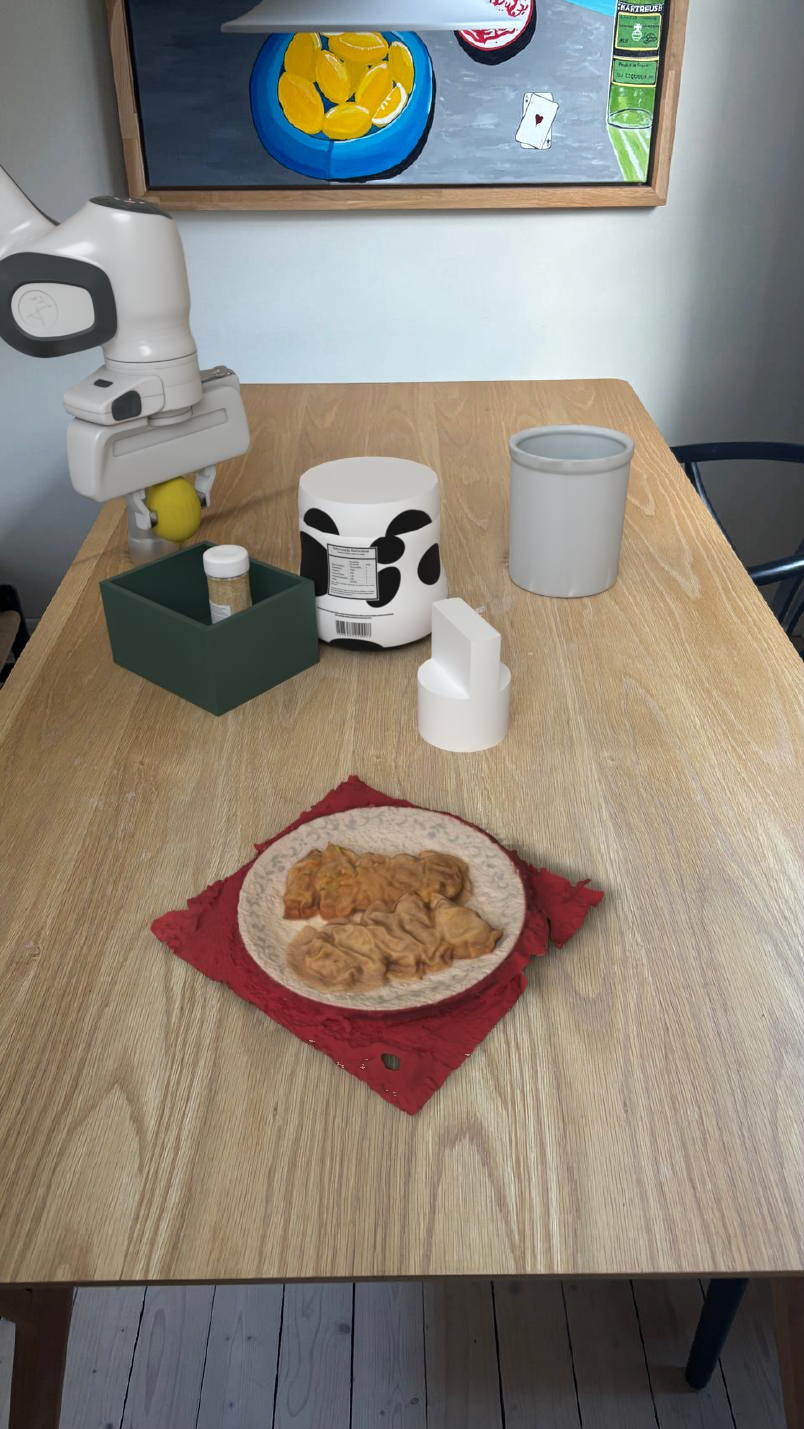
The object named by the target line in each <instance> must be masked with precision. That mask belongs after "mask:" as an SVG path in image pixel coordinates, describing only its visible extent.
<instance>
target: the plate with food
mask: <svg viewBox="0 0 804 1429" xmlns="http://www.w3.org/2000/svg"><path fill="white" fill-rule="evenodd" d="M253 847H254V849H255V850H256V851H257V853H256V854H255V857H254V858H252V859H251V860H250V861H249V862H247V863H246V864H243V865H242V866H241V867H240V868H239V869H238V870H236V871H235V872H234V873H232V874H231V875H229V876H228V875H227V876H226V877H224V878H223V879H217V880H216V881H215V880H214V882H213V883H212V884H211V885H210V884H207V885H206V888H205V889H204V890H202V891H201V892H200V893H199V894H197V895H196V896H194V897H191V898H187V899H186V903H187V904H186V905H187V909H177V910H175V909H172V910H169V911H167V912H166V913H164V914H163V915H162V916H161V917H158V918H155V919H154V920H152V923H151V924H150V932H151V933H152V934H153V935H154V936H155V938H156V939H157V940H158V941H159V942H160V943H166V945H167V948H168V949H172V950H173V951H172V954H173V955H175V956H176V957H177V958H179V959H181V960H182V961H184V962H186V963H187V964H189V965H190V966H192V967H193V968H194V969H196V970H197V971H198V972H199V973H201V974H203V975H204V976H205V977H207V978H208V979H211V981H213V982H217V983H222V984H225V986H227V987H228V989H229V990H230V991H232V993H234V994H235V995H236V996H238V997H240V998H241V999H242V1000H243V1001H246V1002H247V1003H249V1004H250V1003H252V1004H253V1005H254V1006H255V1007H256V1008H257V1009H258V1010H260V1011H262V1012H263V1014H265V1015H266V1016H268V1017H269V1018H270V1019H272V1020H273V1021H274V1022H275V1023H277V1024H279V1025H281V1026H282V1027H284V1028H285V1029H287V1030H288V1031H289V1032H290V1033H291V1034H293V1035H294V1036H295V1037H296V1038H297V1039H299V1040H300V1041H301V1042H303V1043H304V1044H307V1045H308V1046H312V1047H313V1048H314V1049H315V1050H316V1051H320V1052H321V1053H323V1054H324V1055H326V1056H327V1057H328V1058H330V1059H331V1060H332V1062H333V1063H334V1064H335V1065H336V1066H337V1067H339V1068H340V1069H342V1070H345V1071H346V1072H347V1073H349V1075H351V1076H354V1077H356V1078H357V1080H359V1081H360V1082H362V1081H363V1082H365V1083H366V1085H367V1086H368V1087H369V1089H370V1090H371V1091H373V1092H376V1093H377V1094H378V1095H379V1096H380V1097H381V1098H382V1099H383V1100H384V1101H386V1102H388V1104H391V1105H393V1106H394V1107H395V1108H397V1109H398V1110H400V1111H401V1112H405V1113H406V1114H407V1115H408V1116H410V1117H414V1116H415V1115H416V1114H417V1113H418V1111H419V1110H423V1107H424V1106H425V1104H426V1103H427V1102H428V1100H429V1099H431V1098H432V1097H433V1095H434V1093H435V1092H437V1091H438V1090H439V1089H441V1088H442V1087H443V1084H444V1082H445V1081H446V1079H447V1077H449V1075H450V1074H451V1073H452V1072H453V1071H454V1070H458V1069H459V1068H460V1066H461V1065H462V1064H463V1063H464V1062H465V1061H466V1059H467V1058H468V1057H469V1056H467V1055H465V1054H470V1056H471V1054H472V1053H473V1051H474V1050H475V1049H476V1048H477V1045H480V1043H481V1042H483V1041H484V1040H485V1037H487V1035H488V1034H489V1033H491V1031H492V1029H493V1028H494V1027H495V1026H496V1025H497V1024H498V1023H499V1022H500V1020H501V1019H502V1018H503V1017H505V1016H506V1014H508V1012H509V1010H510V1009H512V1008H513V1006H514V1005H515V1004H516V1003H517V1002H518V1000H519V999H520V997H521V996H522V994H523V993H524V991H525V989H526V987H527V985H528V983H529V982H528V980H529V979H528V978H527V977H525V974H524V971H523V969H524V967H525V966H528V965H529V964H531V962H532V960H531V956H532V955H535V957H539V956H540V958H542V957H544V956H545V954H546V953H547V952H548V951H549V948H548V943H549V935H550V937H551V940H552V942H553V943H554V945H555V946H554V947H556V948H557V949H558V950H561V949H563V945H565V944H567V943H568V941H569V940H570V939H571V938H572V937H573V936H574V934H576V931H577V930H578V929H580V928H581V926H582V925H583V923H584V921H585V919H586V917H587V915H588V913H589V910H590V909H591V906H592V907H593V908H595V907H598V906H599V905H600V904H601V903H600V902H601V901H602V900H603V898H604V895H605V892H604V891H603V890H596V889H595V890H594V889H590V888H588V887H586V885H588V884H590V882H592V879H591V878H586V879H584V880H580V881H577V882H576V886H573V885H572V884H571V881H570V880H568V879H566V878H564V877H561V876H559V875H557V874H554V873H553V872H551V871H549V870H548V869H547V868H546V867H544V866H543V867H540V868H539V869H538V868H537V867H534V865H533V864H532V863H528V861H527V860H524V859H522V858H521V857H520V856H519V855H518V850H517V849H512V850H510V849H508V848H506V847H505V846H504V845H502V844H501V843H500V842H499V840H497V838H496V837H495V836H494V835H492V834H491V833H489V832H487V831H486V830H485V829H483V828H481V827H479V825H476V824H474V823H473V822H471V821H470V822H469V821H467V820H465V819H464V818H462V817H461V816H459V814H457V815H456V814H453V813H451V812H449V811H445V810H443V811H441V810H437V809H430V808H428V807H426V806H425V807H423V806H419V805H417V804H414V803H412V802H410V801H408V800H407V799H404V798H403V799H400V798H394V797H392V796H389V795H387V794H386V793H384V792H382V791H379V790H377V789H375V788H374V787H372V786H370V785H368V784H367V783H366V782H365V781H362V780H361V779H360V777H359V776H358V774H354V775H351V774H349V775H348V777H347V780H346V781H340V783H339V784H338V786H337V787H336V788H335V789H334V788H332V789H330V790H329V791H328V793H327V794H326V795H325V796H324V797H323V798H322V799H321V800H319V801H318V802H316V803H315V804H313V805H310V810H308V811H307V810H302V812H301V813H300V814H299V816H298V818H297V819H295V820H294V821H293V822H292V823H290V824H289V825H288V826H287V827H285V828H284V829H283V830H281V831H280V832H278V833H276V835H275V836H273V837H271V838H268V839H267V840H265V841H263V842H261V843H259V844H258V843H255V842H254V843H253ZM193 893H194V894H195V893H196V892H195V891H194V892H193ZM548 921H549V923H550V929H549V923H548ZM550 930H551V931H550ZM309 1040H313V1041H315V1042H310V1041H309ZM383 1054H384V1055H385V1054H387V1055H388V1054H389V1055H392V1056H394V1057H396V1058H398V1059H399V1060H400V1064H399V1068H398V1069H396V1070H392V1069H390V1068H386V1066H385V1064H384V1061H383V1060H382V1055H383ZM365 1059H368V1060H365ZM337 1062H339V1064H341V1065H344V1066H343V1067H344V1068H342V1066H341V1065H337V1064H338V1063H337ZM362 1064H364V1066H363V1065H362ZM362 1066H363V1067H365V1068H364V1069H362V1068H360V1067H362ZM386 1090H388V1091H386ZM393 1092H396V1093H393ZM394 1095H396V1096H394Z"/></svg>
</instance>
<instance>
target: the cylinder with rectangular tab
mask: <svg viewBox="0 0 804 1429" xmlns="http://www.w3.org/2000/svg"><path fill="white" fill-rule="evenodd" d="M501 646H502V634H501V633H499V631H497V629H495V628H494V627H493V626H492V625H491V624H490V623H489V622H488V621H486V620H485V619H484V617H482V616H481V615H480V614H479V613H478V612H477V611H476V610H474V609H473V608H472V607H471V606H470V605H469V604H468V603H467V602H465V600H463V599H462V598H461V597H451V598H447V599H444V600H440V601H437V602H434V603H432V633H431V658H429V659H427V660H426V661H424V662H423V663H422V664H421V665H420V666H419V668H418V669H417V732H418V733H419V735H420V737H421V738H422V740H424V741H425V742H426V743H427V744H429V745H431V746H433V747H435V748H437V749H439V750H440V749H441V750H443V751H447V752H454V753H476V752H481V751H485V750H489V749H491V748H494V747H495V746H497V745H499V744H500V743H502V742H503V741H504V739H505V738H506V737H507V735H508V732H509V729H510V728H509V727H510V726H509V724H510V710H511V708H510V707H511V691H512V690H511V686H512V673H511V670H510V668H509V667H508V666H507V665H506V664H505V663H503V662H502V661H501Z"/></svg>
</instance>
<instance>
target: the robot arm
mask: <svg viewBox="0 0 804 1429" xmlns="http://www.w3.org/2000/svg"><path fill="white" fill-rule="evenodd" d="M185 254H186V253H185V249H184V244H183V241H182V237H181V233H180V230H179V227H178V225H177V223H176V222H175V219H174V218H173V217H172V216H171V215H170V213H169V212H167V211H166V210H165V209H164V208H163V207H161V206H160V205H158V204H156V203H154V202H151V201H147V200H145V199H140V198H134V197H129V196H123V195H122V196H121V195H98V196H97V195H96V196H95V197H91V198H89V199H88V200H87V201H86V203H85V204H84V205H83V206H82V207H81V208H80V209H79V210H78V211H76V212H75V213H73V215H71V216H70V217H69V218H67V219H65V220H64V221H63V222H59V221H57V220H55V219H54V218H52V217H50V216H49V215H48V214H47V213H46V212H44V211H42V210H41V209H40V208H39V207H38V206H37V205H36V204H35V203H34V202H33V201H32V200H31V199H30V198H29V196H28V195H27V194H26V192H24V190H23V189H22V188H21V187H20V186H19V185H18V183H17V182H16V181H15V180H14V179H13V178H12V176H11V175H10V174H9V173H8V171H7V170H6V169H5V168H4V167H3V165H2V164H1V163H0V338H1V339H2V341H4V342H5V343H6V344H7V345H8V346H10V347H11V348H12V349H14V350H15V351H17V352H19V353H21V354H24V355H26V356H29V357H32V358H39V359H52V358H60V357H64V356H68V355H72V354H77V353H80V352H83V351H87V350H90V349H94V348H97V347H101V349H102V355H103V360H104V364H103V365H101V366H100V367H98V368H97V369H96V370H95V371H93V372H92V373H91V374H90V375H88V376H86V378H84V379H83V380H81V381H79V382H78V383H76V384H75V385H73V386H72V387H71V388H69V389H68V390H67V391H65V393H64V394H63V396H62V404H63V408H64V410H65V413H67V414H68V415H70V416H72V417H73V418H72V420H71V421H70V422H69V424H68V426H67V429H66V435H65V443H66V445H65V446H66V455H67V462H68V470H69V475H70V480H71V484H72V487H73V489H74V490H75V491H76V492H77V493H78V495H80V496H81V497H83V498H85V499H87V500H90V501H92V502H95V503H98V504H99V503H100V504H102V503H106V502H109V501H112V500H115V499H117V498H120V497H121V498H122V500H123V501H124V503H125V502H126V503H127V504H128V505H129V506H130V508H131V509H132V510H133V511H135V517H136V523H137V526H138V527H139V528H141V529H143V530H149V529H151V528H153V527H156V526H158V524H159V523H158V520H157V517H158V516H157V511H156V510H153V509H150V508H148V507H146V506H145V505H144V503H143V502H142V501H141V499H144V498H145V497H146V496H145V489H144V488H147V487H150V486H153V485H156V484H159V483H162V482H165V481H167V480H170V479H173V478H176V477H179V476H182V477H183V476H185V475H187V474H191V473H195V474H196V477H195V481H194V484H193V486H194V488H195V490H196V492H197V495H198V497H199V501H200V504H201V511H202V510H204V509H207V508H210V507H211V496H210V495H211V494H210V492H211V490H212V487H213V483H214V481H215V478H216V475H217V468H216V465H218V464H220V463H223V462H225V461H228V460H232V459H234V458H237V457H240V456H244V455H246V454H247V452H248V450H249V448H250V445H251V434H250V428H249V427H250V426H249V422H248V417H247V413H246V409H245V405H244V401H243V398H242V396H241V394H242V393H241V385H240V384H241V383H240V379H239V376H238V374H237V373H236V372H235V371H234V370H233V369H231V368H229V367H227V366H226V365H216V366H214V367H212V368H209V369H202V370H201V368H200V361H199V360H200V358H199V351H198V344H197V341H196V338H195V336H194V333H193V330H192V325H191V309H192V292H191V291H192V290H191V284H190V279H189V278H190V277H189V271H188V264H187V259H186V255H185ZM126 503H125V504H126Z"/></svg>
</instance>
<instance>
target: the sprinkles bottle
mask: <svg viewBox="0 0 804 1429" xmlns="http://www.w3.org/2000/svg"><path fill="white" fill-rule="evenodd" d="M219 545H220V544H219ZM248 556H249V552H248V550H247V549H246V548H245V547H244V546H240V545H238V544H221V545H220V546H215V547H212V548H210V549H208V550H207V551H206V552H205V553H204V555H203V562H204V570H205V573H206V576H207V581H208V588H209V596H210V597H209V601H210V609H211V617H212V624H214V623H216V622H218V621H221V620H223V619H225V618H227V617H229V616H231V615H233V614H236V613H238V612H240V611H242V610H244V609H246V608H248V607H251V606H252V599H251V594H250V586H249V575H248V572H249V570H248V569H249V567H250V566H249V557H250V556H249V557H248Z"/></svg>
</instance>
